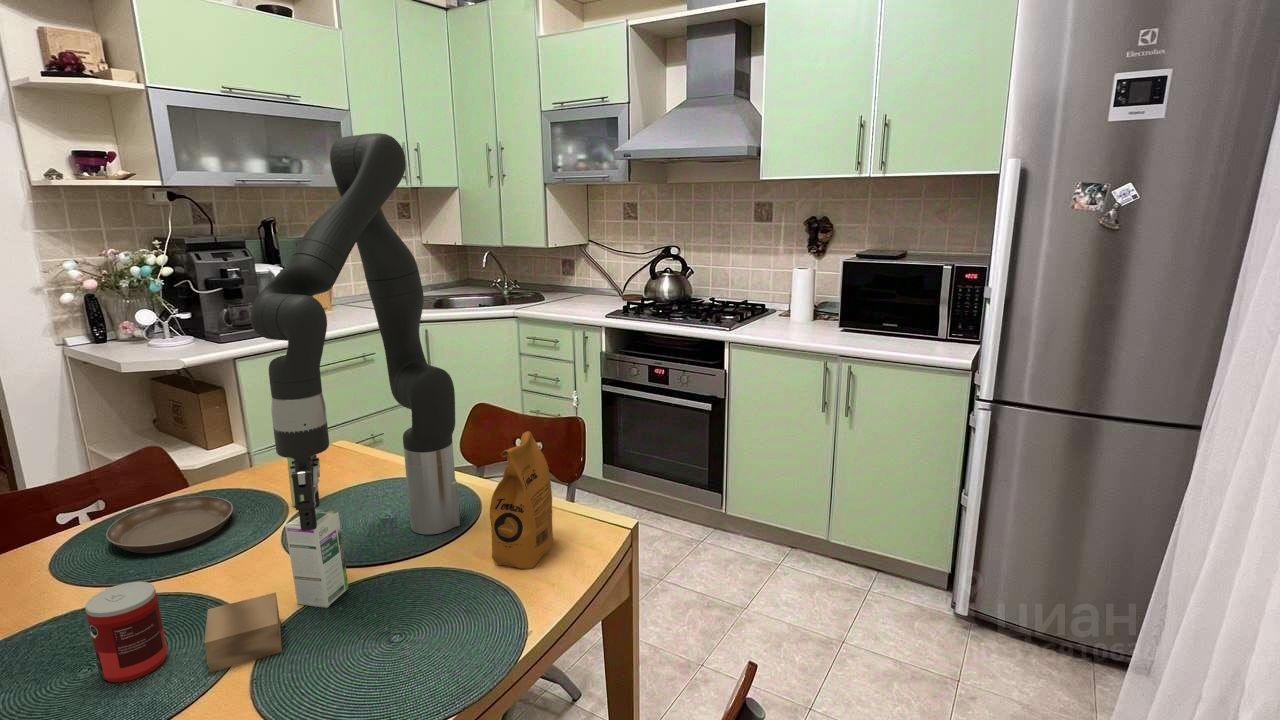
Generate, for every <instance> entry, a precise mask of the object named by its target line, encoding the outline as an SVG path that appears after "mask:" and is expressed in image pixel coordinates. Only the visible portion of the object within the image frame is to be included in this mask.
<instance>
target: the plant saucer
mask: <svg viewBox="0 0 1280 720" xmlns="http://www.w3.org/2000/svg"><path fill="white" fill-rule="evenodd" d="M233 510H234V506H233V504H232V502H230V501H229V500H227V499H224V498H222V497H217V496H188V497H180V498H174V499H170V500H165V501H162V502H157V503H154V504H150V505H147V506H144V507H142V508H139V509H137V510H134V511H132V512H130V513H127V514H125V515H123V516H122V517H120V518H118V519H117V520H115V521H114V522H113V523H112V524H111V525H110V526H109V527H108V529H107V531H106V532H105V533H106V534H105V537H106V538H107V539H106V540H108V541H109V543H111V544H112V545H114V546H115V547H118V548H119V549H122V550H125V551H127V552H130V553H136V554H156V553H157V554H158V553H165V552H170V551H174V550H175V551H176V550H179V549H183V548H186V547H189V546H192V545H194V544H197V543H200V542H202V541H204V540H206V539H208V538H209V537H211V536H213V535H214V534H216V533H217V532H218V531H219V530H221V528H223V527H224V525H225V524H226V523H227V521H229V520H230V518H231V516H232V513H233Z"/></svg>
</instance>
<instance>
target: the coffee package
mask: <svg viewBox="0 0 1280 720" xmlns="http://www.w3.org/2000/svg"><path fill="white" fill-rule="evenodd" d="M500 457H501V458H506V461H507V463H508V464H507V465H506V466H505V469H504V473H503V475H502V476H503V477H502V479H501V480H500V481H499V482H498V483H497V486H496V488H495V489H494V491H493V493H492V496H491V500H490V506H489V520H490V521H489V523H490V529H491V558H492V560H493V561H494V563H495V564H496V565H498V566H502V565H504V566H508V567H511V568H512V567H513V568H516V569H519V570H522V569H525V570H529V569H530V570H531V569H533V568H535V567H536V565H537V564H538V563H539V561H540V559H541V558H542V557H544V556H546V555H547V554H549V552H550V550H551V546H552V544H553V542H554V533H553V492H552V484H551V476H550V469H549V464H548V461H547V459H546V458H545V455H544V453H543V452H542V450H541V449H540V447H539V444H538V443H537V441H536V439H534V437H533V435H532V433H531V431H529V430H528V431H525V432H523V433H522V435H521V438H520V442H519V445H517V446H513V447H510V448H509V449H505V450H503V452H502V453H501V454H500Z"/></svg>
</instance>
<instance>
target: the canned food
mask: <svg viewBox="0 0 1280 720" xmlns="http://www.w3.org/2000/svg"><path fill="white" fill-rule="evenodd" d="M84 607H85V615H86V620H87V625H88V629H89V632H90V637H91V642H92V647H93V650H94V654H95V655H94V656H95V659H96V663H97V668H98V673H99V674H100V675H101V677H102V678H103V680H105V681H107V682H110V683H111V682H112V683H121V682H122V683H123V682H124V683H125V682H129V681H134V680H136V679H139V678H142V677H144V676H146V675H148V674H150V673H152V672H153V671H155V670H157V669H158V668H159V667H160V666H161V665H163V663H164V662H165V660H166V659H167V658H166V657H167V653H168V648H167V642H166V641H167V640H166V637H165V630H164V626H163V621H162V615H161V610H160V605H159V600H158V595H157V590H156V588H155V585H154V584H153V583H151V582H146V581H132V582H125V583H122V584H118V585H114V586H111V587H108V588H106V589H103V590H102V591H100V592H97V593H96V594H94V595H93V596H92V597H91V598H89V599H88V600H87V602H85V606H84Z"/></svg>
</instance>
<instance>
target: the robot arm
mask: <svg viewBox="0 0 1280 720" xmlns="http://www.w3.org/2000/svg"><path fill="white" fill-rule="evenodd" d="M402 147H403V146H401V144H400V143H399V142H398V140H397V139H396V138H395V137H393V136H391V135H389V134H387V133H383V132H382V133H381V132H375V133H374V132H373V133H363V134H358V135H357V134H356V135H349V136H348V135H347V136H343V137H339V138H337V139H336V140H335V141H334V142H333V143H332V145H331V148H330V154H329V161H330V168H331V173H332V175H333V179H334V182H335V185H336V187H337V191H338V193H339V195H340V198H339V199H338V200H337V201H336V202H335V203H334V204H333V205H332V206H331V207H329V208H328V209H327V210H326V211H325V212H324V213H323V214H322V215H321V216H319V217H318V218H317V219H316V220H315V222H314V223H313V224H312V225H311V226H310V227H309V228H308V230H306V232H305V233H304V235H303V236H302V238H301V240H300V242H299V243H298V246H297V248H296V249H295V250H294V253H293V254H292V257H291V258H290V260H289V261H288V262H289V263H287V264H286V266H285V267H284V268H283V269H281V270H280V271H279V272H278V273H277V274H276V275H275V277H273V278H272V279H271V281H270V282H269V283H268V284H267V285H265V287H264V288H263V289H262V290H260V292H259V293H258V295H257V296H256V298H255V300H254V302H253V304H252V306H251V309H250V314H249V315H250V316H249V317H250V324H251V328H252V329H253V330H254V332H255V333H256V334H257V335H258V336H260V337H261V338H264V339H268V340H275V341H287V350H286V353H285V354H284V355H280V356H277V357H274V358H273V359H272V360H271V361H270V362H269V364H268V378H269V385H270V386H269V387H270V395H271V396H270V397H271V408H270V409H271V420H272V429H273V436H274V445H275V451H276V454H277V455H278V456H280V457H282V458H284V459H285V458H286V459H287V458H288V457H289V458H293V459H294V460H293V461H292V466H290V474H291V477H292V484H293V493H294V497H295V507H294V509H295V511H298V515H299V516H298V517H300V525H301V530H302V531H309V530H314V529H316V527H317V521H316V511H315V509H318V507H320V493H319V492H320V491H319V482H320V477H321V469H320V467H321V464H320V463H321V462H320V457H318V456H317V455H319V454H321V453H323V452H325V451H326V450H327V449H328V448H329V446H330V439H329V438H330V437H329V436H330V435H329V429H328V428H329V427H328V418H327V416H328V415H327V408H326V401H325V399H324V398H325V397H324V395H323V393H324V392H323V388H322V379H321V376H322V375H321V374H322V373H321V369H320V368H321V362H322V356H323V351H324V345H325V341H326V335H327V330H328V319H327V314H326V310H325V308H324V306H323V305H322V303H321V302H320V300H318V299H317V298H316V297H313V296H317V295H319V294H324V293H327V292H328V291H330V290H331V289H332V288H333V287H334V285H335V283H336V281H337V279H338V278H339V275H340V273H341V272H342V269H343V268H344V266H345V264H346V262H347V260H348V258H349V256H350V254H351V252H352V250H353V249H354V247H355V245H356V246H357V250H358V253H359V256H360V259H361V262H362V263H361V264H362V268H363V272H364V278H365V282H366V284H367V288H368V293H369V296H370V300H371V304H372V306H373V310H374V313H375V316H376V317H375V318H376V322H377V325H378V329H379V332H380V336H381V338H382V339H381V340H382V343H383V348H384V354H385V361H386V367H387V374H388V379H389V380H388V382H389V386H390V391H391V394H392V396H393V399H394V400H395V401H396V403H397V404H398V405H400V406H402V407H403V408H406V409H408V410H411V427H409V428H407V429H406V430H405V431H404V432H403V435H402V443H403V445H402V446H403V455H404V467H405V478H406V487H407V488H406V489H407V490H406V491H407V500H408V511H409V522H410V523H409V524H410V528H411V531H413V532H414V533H416V534H418V535H437V534H442V533H445V532H448V531H450V530H452V529H454V528H456V527H460V526H461V521H460V506H459V493H458V492H459V491H458V490H459V489H458V483H457V482H458V481H457V480H456V473H455V472H456V471H455V459H454V458H455V457H454V444H453V434H454V431H455V428H456V394H455V393H456V392H455V387H454V382H453V379H452V377H451V375H450V373H448V371H446V370H445V369H443V368H440V367H437V366H435V365H434V366H433V365H430V364H428V362H427V360H426V356H425V353H424V351H423V347H422V343H421V338H420V337H421V336H420V325H421V324H420V323H421V319H422V313H423V308H424V299H425V298H424V297H425V296H424V289H423V284H422V279H421V277H420V276H421V275H420V271H419V267H418V264H417V261H416V258H415V256H414V255H413V253H412V252H411V250H410V249H409V248H408V246H407V245H406V244H405V242H404V241H403V240H402V238H401V237H400V236H399V235H398V234H397V232H396V230H394V229H393V228H392V226H391V225H390V223H389V221H388V220H387V219H386V218H387V217H386V216H385V214H384V212H383V210H382V207H383V205H384V204H385V203H386V202H387V200H388V199H389V197H390V196H391V195H392V193H393V192H394V191H395V190H396V189H397V187H398V186H399V184H400V183H401V182H402V180H403V177H404V175H405V173H406V163H407V162H406V161H407V160H406V155H405V152H404V150H403V148H402ZM301 495H304V501H301Z"/></svg>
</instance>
